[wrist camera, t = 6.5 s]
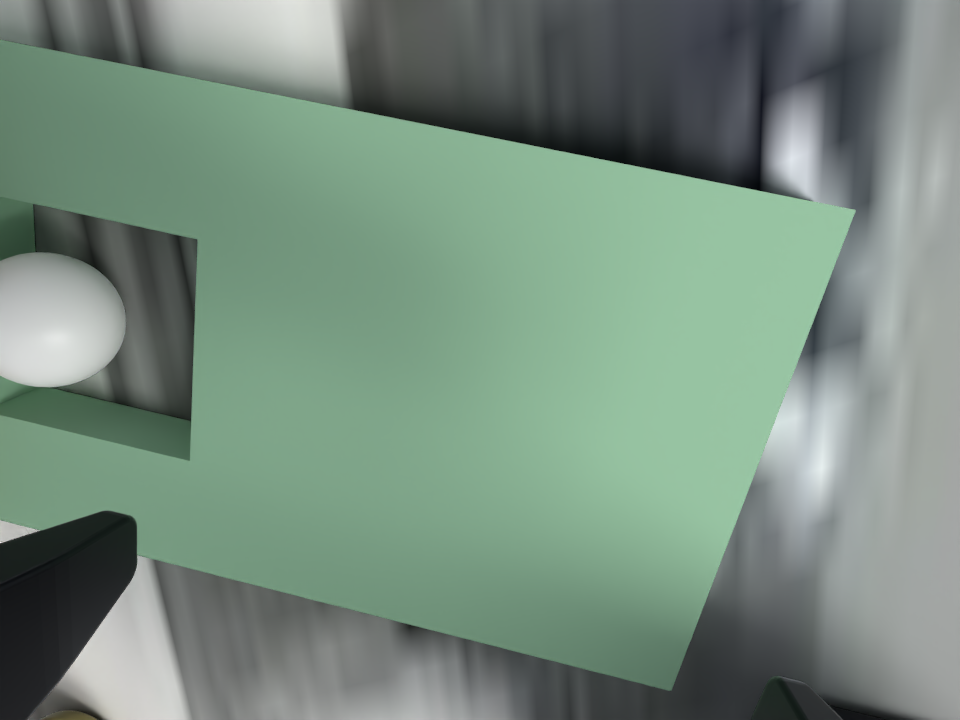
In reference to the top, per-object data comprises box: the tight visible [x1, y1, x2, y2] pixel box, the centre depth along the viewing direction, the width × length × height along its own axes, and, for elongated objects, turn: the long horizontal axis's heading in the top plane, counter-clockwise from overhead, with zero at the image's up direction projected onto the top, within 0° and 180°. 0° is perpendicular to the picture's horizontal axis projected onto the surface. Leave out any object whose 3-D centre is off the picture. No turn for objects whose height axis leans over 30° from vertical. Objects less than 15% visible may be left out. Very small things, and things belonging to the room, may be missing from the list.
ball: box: [0, 252, 126, 387], centre depth 16 cm, size 4×4×4 cm
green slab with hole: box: [0, 40, 856, 691], centre depth 15 cm, size 22×13×4 cm, turn 80°
